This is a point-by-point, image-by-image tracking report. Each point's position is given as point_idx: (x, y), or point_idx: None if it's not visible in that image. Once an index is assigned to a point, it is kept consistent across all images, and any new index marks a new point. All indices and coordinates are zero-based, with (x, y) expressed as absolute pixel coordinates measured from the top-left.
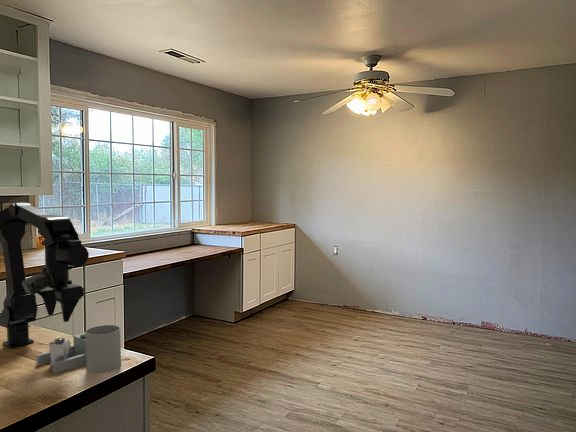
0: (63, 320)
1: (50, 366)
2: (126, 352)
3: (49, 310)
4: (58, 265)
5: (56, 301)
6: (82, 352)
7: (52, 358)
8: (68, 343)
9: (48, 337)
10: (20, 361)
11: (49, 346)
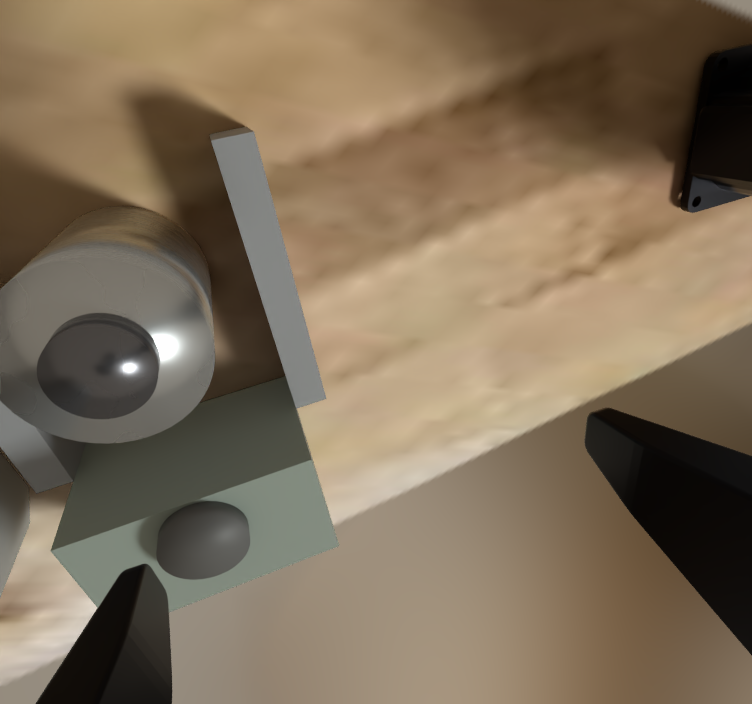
0: (138, 577)
1: (120, 206)
2: None
3: (637, 459)
4: None
5: (729, 626)
6: (167, 438)
7: (60, 235)
8: (41, 422)
9: (684, 294)
10: (401, 32)
11: (89, 250)
